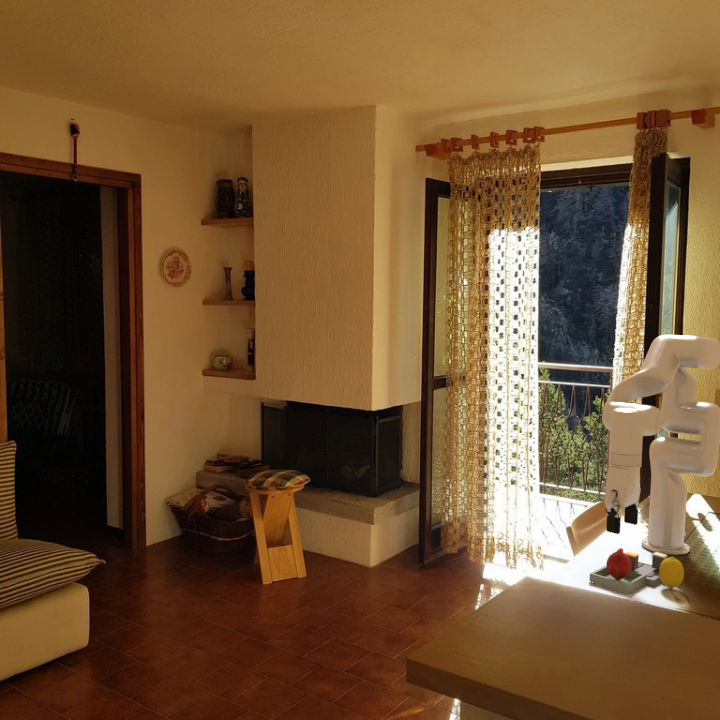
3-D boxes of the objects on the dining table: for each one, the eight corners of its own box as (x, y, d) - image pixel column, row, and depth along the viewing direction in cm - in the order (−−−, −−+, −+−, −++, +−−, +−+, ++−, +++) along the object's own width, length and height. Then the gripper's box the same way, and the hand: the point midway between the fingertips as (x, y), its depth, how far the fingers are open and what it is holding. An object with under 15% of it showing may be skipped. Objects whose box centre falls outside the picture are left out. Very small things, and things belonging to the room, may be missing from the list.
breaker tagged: (627, 565, 190) (627, 551, 189) (637, 568, 188) (638, 554, 187) (623, 567, 188) (624, 553, 188) (634, 570, 186) (635, 556, 186)
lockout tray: (607, 572, 190) (608, 564, 190) (645, 583, 183) (646, 574, 183) (589, 582, 183) (589, 573, 183) (628, 593, 176) (629, 584, 176)
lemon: (685, 594, 177) (687, 561, 176) (660, 592, 178) (662, 559, 177) (680, 586, 182) (682, 554, 182) (656, 583, 183) (658, 551, 183)
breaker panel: (636, 566, 195) (636, 559, 195) (671, 575, 189) (671, 569, 189) (617, 576, 187) (618, 569, 187) (653, 586, 181) (653, 579, 181)
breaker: (655, 565, 190) (655, 552, 190) (666, 568, 188) (667, 554, 188) (651, 567, 189) (652, 553, 188) (663, 570, 187) (663, 556, 186)
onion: (626, 585, 179) (629, 552, 179) (602, 580, 182) (604, 547, 182) (632, 580, 184) (635, 548, 183) (609, 575, 187) (611, 543, 187)
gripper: (625, 451, 190) (622, 516, 191) (594, 462, 177) (591, 532, 179) (655, 456, 184) (651, 523, 186) (624, 468, 172) (621, 540, 174)
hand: (622, 527), depth 182 cm, fingers open, 9 cm apart
